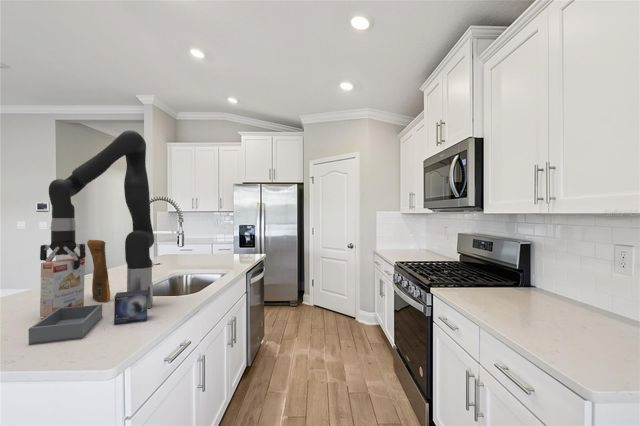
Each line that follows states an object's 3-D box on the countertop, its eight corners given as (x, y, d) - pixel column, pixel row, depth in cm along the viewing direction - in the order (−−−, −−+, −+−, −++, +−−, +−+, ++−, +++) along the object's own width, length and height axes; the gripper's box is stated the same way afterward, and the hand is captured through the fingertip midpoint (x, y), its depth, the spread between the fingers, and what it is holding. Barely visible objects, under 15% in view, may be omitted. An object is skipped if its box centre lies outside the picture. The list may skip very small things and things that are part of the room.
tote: (102, 317, 119) (102, 304, 119) (82, 338, 99) (82, 323, 99) (58, 321, 114) (58, 308, 114) (28, 344, 94) (28, 328, 94)
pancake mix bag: (96, 305, 135) (96, 241, 135) (85, 296, 147) (86, 238, 148) (113, 301, 140) (114, 240, 140) (102, 294, 153) (103, 237, 153)
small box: (113, 325, 111) (113, 296, 111) (115, 320, 116) (115, 292, 116) (146, 321, 116) (147, 293, 116) (147, 315, 121) (147, 289, 121)
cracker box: (53, 318, 116) (53, 262, 116) (39, 317, 116) (39, 262, 116) (85, 306, 130) (85, 257, 130) (72, 306, 130) (72, 257, 130)
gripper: (88, 228, 129) (88, 267, 129) (45, 229, 124) (45, 269, 124) (81, 229, 122) (81, 270, 122) (36, 230, 117) (36, 273, 117)
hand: (63, 270), depth 123 cm, fingers closed on cracker box, 8 cm apart
